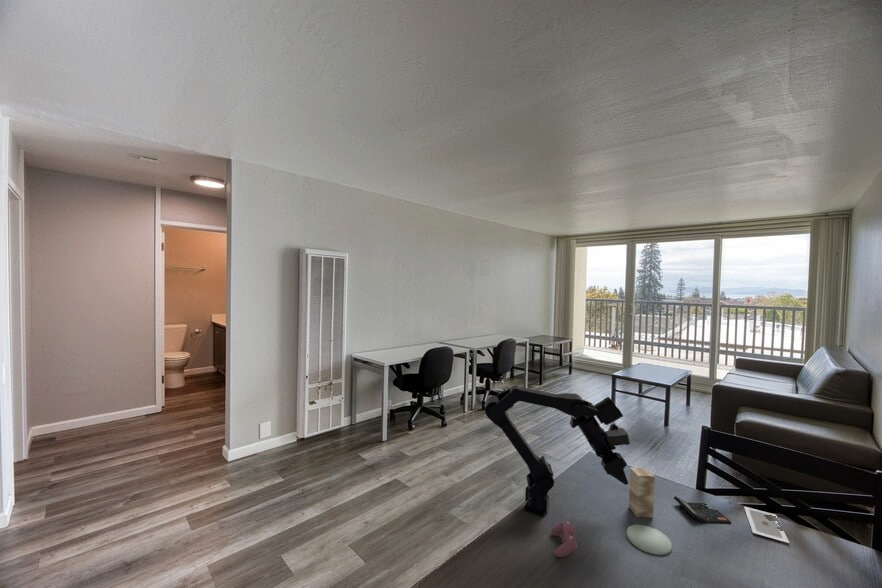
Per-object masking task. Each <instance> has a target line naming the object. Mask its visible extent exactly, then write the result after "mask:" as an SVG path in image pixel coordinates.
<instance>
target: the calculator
mask: <svg viewBox="0 0 882 588" xmlns="http://www.w3.org/2000/svg"><path fill="white" fill-rule="evenodd" d="M673 499H674V500H675V501H676V502H677V503H678V504H679V505H680V506H681V507H682V508H683V509H685V510H686V512H687V513H688V514H689V515H691V517H693V518H695V519H697V520H699V521H700V522H702V523H704V524H727V525H728V524H732V521H731V520H730V519H729V518H727V517H726V516H725V515H724V514H723V513H721V512H720V511H719V510H718V509H717V510H713V509H709V508H708V507H707V506H705V505H707V504H705V503H706V502H686V501H684V500H683V499H681V498H679V497H678V496H676V495H675V496H673ZM703 504H704V505H703ZM685 510H684V511H685ZM709 522H710V523H709Z"/></svg>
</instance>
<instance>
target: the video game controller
mask: <svg viewBox="0 0 882 588" xmlns="http://www.w3.org/2000/svg"><path fill="white" fill-rule="evenodd" d="M550 534H551V536H554V537H559V536H562V537H561V542H562V544H560V545H559V546H557V547H556V548H555V549H554V553H553V554H554V556H555V557H557V558H563V557H567V556H568V555H570V554H571V553H573V552H574V551H575V550H576V549H577V548H578V539H577V537H576V534H577V532H576V528H575V526H574V524H573V523H572V522H570V521H567V520H563V521H562V522H560V523H559V524H557V525H555V526H553V527H552V528H551V530H550Z"/></svg>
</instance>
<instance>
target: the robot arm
mask: <svg viewBox="0 0 882 588" xmlns="http://www.w3.org/2000/svg"><path fill="white" fill-rule="evenodd" d="M518 402H521V403H527V404H532V405H537V406H542V407H548V408H551V409H555V410H558V411H560V412H561V413H563V414H566V415H568V416H570V419H569V420H570V421H569V425H570V427H571V429H575V428H576V427H578V428H579V430H580V431H581V433H582V435H583V436H584V437H585V439H586V440H587V442H588V444H589V446H590V447H591V449H592V451H594V453H595V455H596V456H597V457H598V458H601V461H600V464H601V466H602V468H603V470H604V471H605V473H606V475H608V476H609V475H610V476H612V477H613V478H614V479H616V480H617V481H618V482H621V483H622V484H623V485H625V486H626V485H628V484H629V481H628V478H627V476H626V472H625V470H624V469H625V468H626V466H627V465H628V463H627V462H626V461H625V458H623V456H622V454H621V453H620V452H614V450H616V449H617V447H616V446H624V445H626V446H628V445H630V444H631V442H630V438H629V433H628V432H627V431H626V430H625V429H624V428H622V427H618V425H616V423H614V422H615V421H617V420H619V419H621V418H623V417H624V415H623V413H622V411H621V410H620V408H618V407H617V405H616V404H615V403H614V401H613V400H612V399H611V398H610V397H609V396H607V397H605V398H603V400H600V401H599V402H597V403H596V404H594V405H593V403H592V402H590V401H587V400H585V399H583V397H582V396H580V395H579V394H577V393H569V392H568V393H565V392H564V393H563V392H562V393H551V392H547V391H542V390H538V389H537V390H536V389H531V388H526V387H522V386H519V385H512V386H511V387H510V388H508V389H506V390H503V391H502V392H500V393H498V394H497V395H494V396H493V395H492V396H489V397H488V398H487V399H486V401H485V405H484V406H485V407H484V412H485V416H486V417H487V418H488V419H489V420H490V421H491V422H492V423H493V424H494V425H495V426H497V427H498V428H499V429H500V430H502V432H503V433H504V434H505V437H507V439H508V440H509V442H510V443H511V445H512V446H513V447H514V449H515V450H516V451H517V454H519V456H520V457H521V459H522V460H523V461H524V463H525V464H526V466H527V468H528V471H529V473H528V474H527V475H526V482H527V486H526V487H525V493H524V494H525V495H524V496H525V498H524V501H525V502H526V501H527V500H528V501H527V503H526V505H525V504H524V506H523V507H522V509H523V511H526V512H528V513H530V514H533V515H536V516H538V517H542V518H543V517H545V515H546V513H548V511H549V509H550V496H549V495H548V494H549V491H550V490H551V489H552V488H554V485H555V480H554V479H555V478H554V476H555V475H554V472H553V469H552V465H551V464H550V463H549V462H548V461H547V460H546V457H545V456H544V455H542V456H541V457H539V456H538V455H537V454H536V453H535V452H534V451H533V449H532V448H531V446H530V444H529V443H528V441H526V438H524V436H523V435H522V433H521V432H520V431H519V429H518V428H517V427H516V425H515V423H513V421H512V420H511V417H510V415H509V413H508V410H510V409H511V408H512V407H513V406H514V405H515V404H516V403H518ZM596 418H597V419H596ZM598 421H599V422H600V423H599V422H598ZM600 424H601V425H603V424H604V426H608V425H609V428H608V429H607V430H606V431H605V430H604V428H602V427H601V425H600ZM530 498H531V499H530ZM525 502H524V503H525Z"/></svg>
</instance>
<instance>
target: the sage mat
mask: <svg viewBox="0 0 882 588" xmlns="http://www.w3.org/2000/svg"><path fill="white" fill-rule="evenodd" d="M626 538H627V539H628V541H629V542H630V543H631V544H632V545H634V546H635V547H636V548H638V549H639V550H641V551H642V552H645V553H647V554H651V555H655V556H666V555H669V554H670V553H671V552H672V549H673V543H672V542H671V540H670V538H669V537H668V536H667V535H665V533H663V532H661V531H660V530H658V529H655V528H653V527H651V526H648V525H643V524H632V525H630V526H629V527H627V529H626Z"/></svg>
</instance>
